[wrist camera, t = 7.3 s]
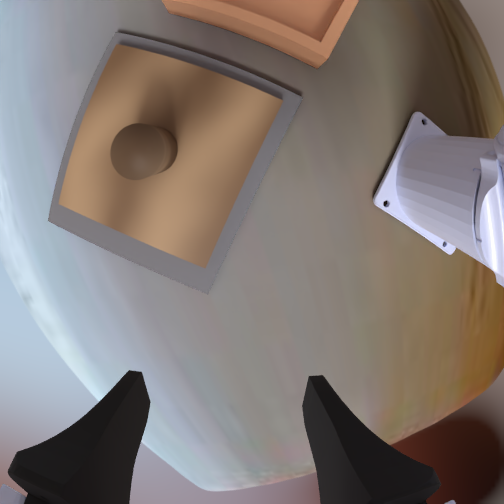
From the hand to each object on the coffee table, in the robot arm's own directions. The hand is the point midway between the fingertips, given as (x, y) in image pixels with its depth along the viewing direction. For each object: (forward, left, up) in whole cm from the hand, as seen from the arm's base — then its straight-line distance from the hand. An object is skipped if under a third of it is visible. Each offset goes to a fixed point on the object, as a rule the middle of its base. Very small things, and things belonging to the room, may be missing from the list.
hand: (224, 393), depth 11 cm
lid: (+8, -7, -10) cm, 15 cm away
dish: (+7, -22, -10) cm, 25 cm away
